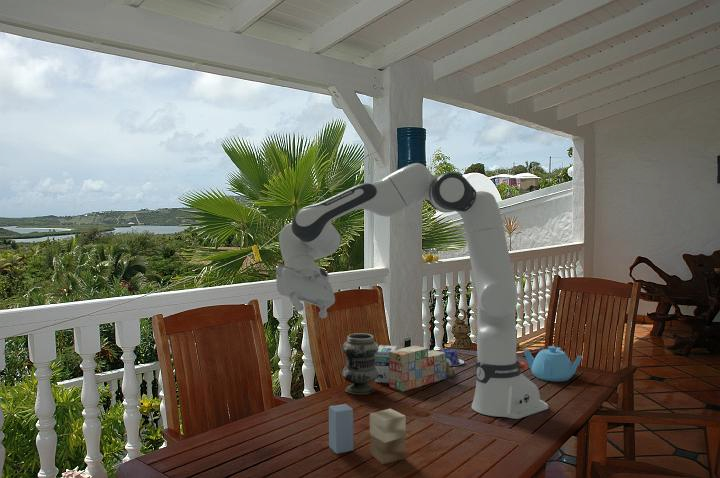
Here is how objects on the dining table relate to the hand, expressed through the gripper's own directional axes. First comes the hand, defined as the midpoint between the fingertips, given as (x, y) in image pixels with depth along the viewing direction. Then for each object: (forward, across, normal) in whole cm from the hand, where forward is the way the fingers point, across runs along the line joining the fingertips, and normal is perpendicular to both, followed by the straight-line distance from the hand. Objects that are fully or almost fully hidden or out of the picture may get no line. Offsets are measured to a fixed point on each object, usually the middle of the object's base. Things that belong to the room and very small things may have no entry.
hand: (312, 313), depth 153 cm
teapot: (+21, +89, -26) cm, 95 cm away
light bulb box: (+6, +52, +16) cm, 55 cm away
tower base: (+42, +5, -8) cm, 43 cm away
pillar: (+36, +1, +2) cm, 36 cm away
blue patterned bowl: (0, +84, +7) cm, 84 cm away
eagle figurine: (+9, +69, +3) cm, 69 cm away
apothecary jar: (+11, +37, +18) cm, 42 cm away
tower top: (+38, +3, -10) cm, 40 cm away
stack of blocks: (+12, +54, +6) cm, 56 cm away
